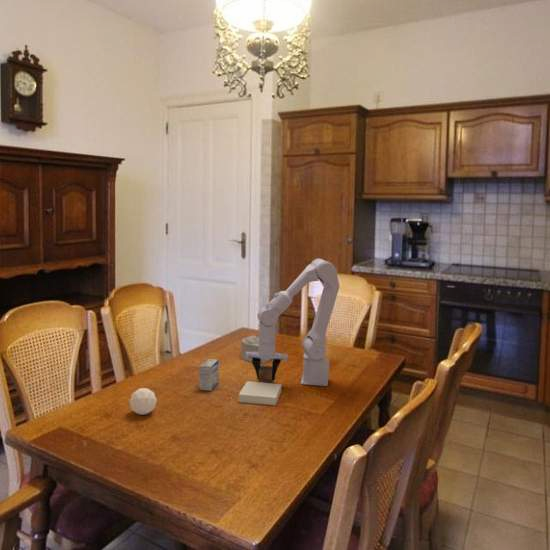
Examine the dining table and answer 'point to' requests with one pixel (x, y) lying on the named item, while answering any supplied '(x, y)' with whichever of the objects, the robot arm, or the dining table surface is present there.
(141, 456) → the dining table surface
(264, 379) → the walnut block
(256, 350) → the lumpy-topped squat cylinder
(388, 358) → the dining table surface
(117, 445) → the dining table surface
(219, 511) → the dining table surface
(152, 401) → the geometric ball
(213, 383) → the medicine box
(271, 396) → the base block
